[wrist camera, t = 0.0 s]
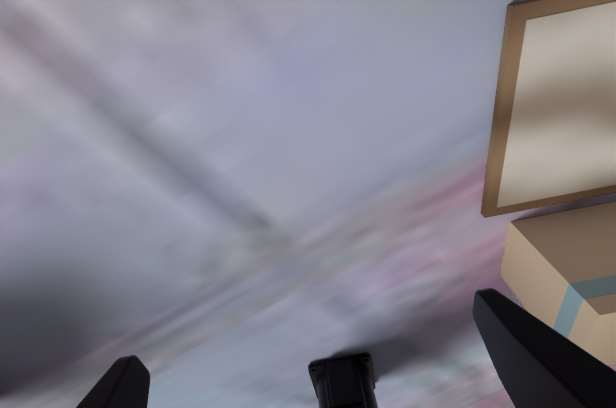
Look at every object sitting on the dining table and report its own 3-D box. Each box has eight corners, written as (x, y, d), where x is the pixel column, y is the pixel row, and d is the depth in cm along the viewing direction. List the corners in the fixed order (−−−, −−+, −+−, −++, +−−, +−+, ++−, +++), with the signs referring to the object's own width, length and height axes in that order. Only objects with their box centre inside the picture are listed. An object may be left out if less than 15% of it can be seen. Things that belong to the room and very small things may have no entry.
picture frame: (666, 176, 26) (674, 181, 25) (480, 213, 26) (485, 218, 26) (773, -51, 18) (789, -52, 18) (507, 5, 19) (514, 6, 18)
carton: (602, 255, 30) (710, 347, 23) (499, 275, 31) (572, 372, 23) (626, 198, 27) (761, 284, 19) (509, 221, 27) (598, 314, 20)
